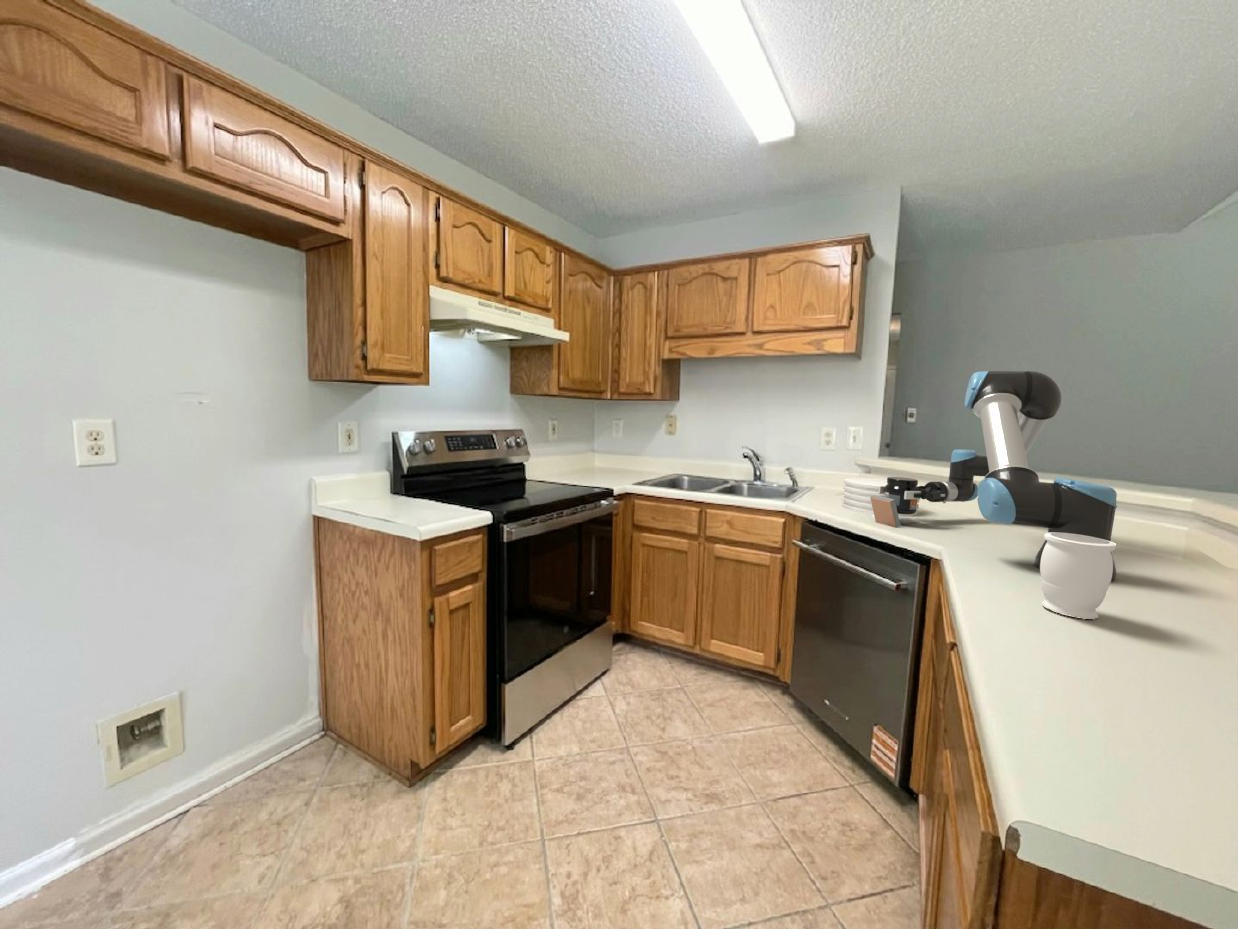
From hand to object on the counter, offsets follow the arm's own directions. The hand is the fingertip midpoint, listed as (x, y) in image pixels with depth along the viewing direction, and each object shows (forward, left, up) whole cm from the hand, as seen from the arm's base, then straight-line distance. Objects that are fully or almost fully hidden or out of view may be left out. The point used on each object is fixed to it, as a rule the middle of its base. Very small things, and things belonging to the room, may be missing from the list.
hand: (891, 492), depth 173 cm
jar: (-66, -42, -12) cm, 79 cm away
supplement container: (+3, -2, -7) cm, 8 cm away
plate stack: (+30, +9, -12) cm, 33 cm away
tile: (-1, 0, -11) cm, 11 cm away
